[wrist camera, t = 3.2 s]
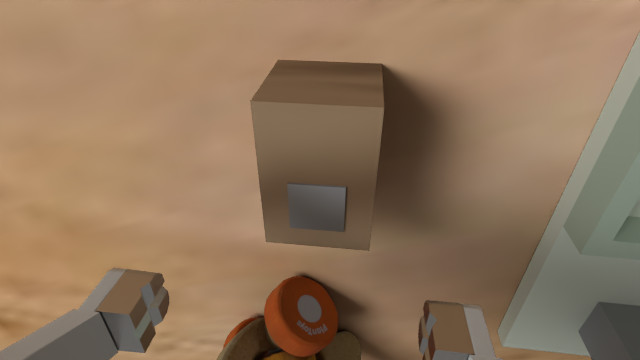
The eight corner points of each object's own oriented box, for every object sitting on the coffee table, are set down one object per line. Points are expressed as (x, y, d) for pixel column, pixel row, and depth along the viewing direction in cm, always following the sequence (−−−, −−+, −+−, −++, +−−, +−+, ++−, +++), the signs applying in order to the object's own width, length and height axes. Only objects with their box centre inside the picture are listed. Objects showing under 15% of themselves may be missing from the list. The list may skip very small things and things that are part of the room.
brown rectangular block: (278, 59, 18) (249, 102, 14) (381, 62, 17) (384, 108, 13) (286, 181, 22) (265, 243, 18) (369, 186, 21) (369, 252, 17)
